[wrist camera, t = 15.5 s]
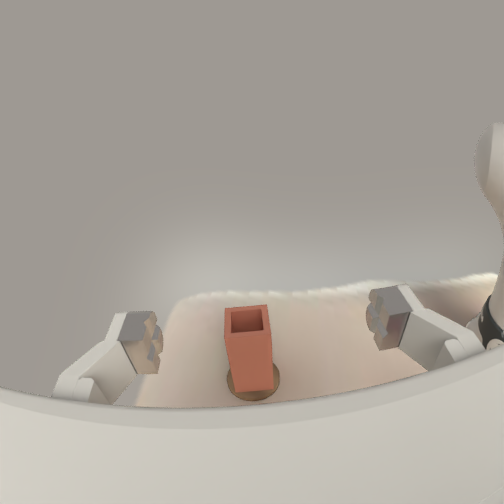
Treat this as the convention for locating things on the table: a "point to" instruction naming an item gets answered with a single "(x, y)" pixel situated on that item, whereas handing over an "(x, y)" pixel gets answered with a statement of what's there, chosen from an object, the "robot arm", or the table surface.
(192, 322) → the table surface
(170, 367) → the table surface
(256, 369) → the red square vase
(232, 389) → the shaft post
